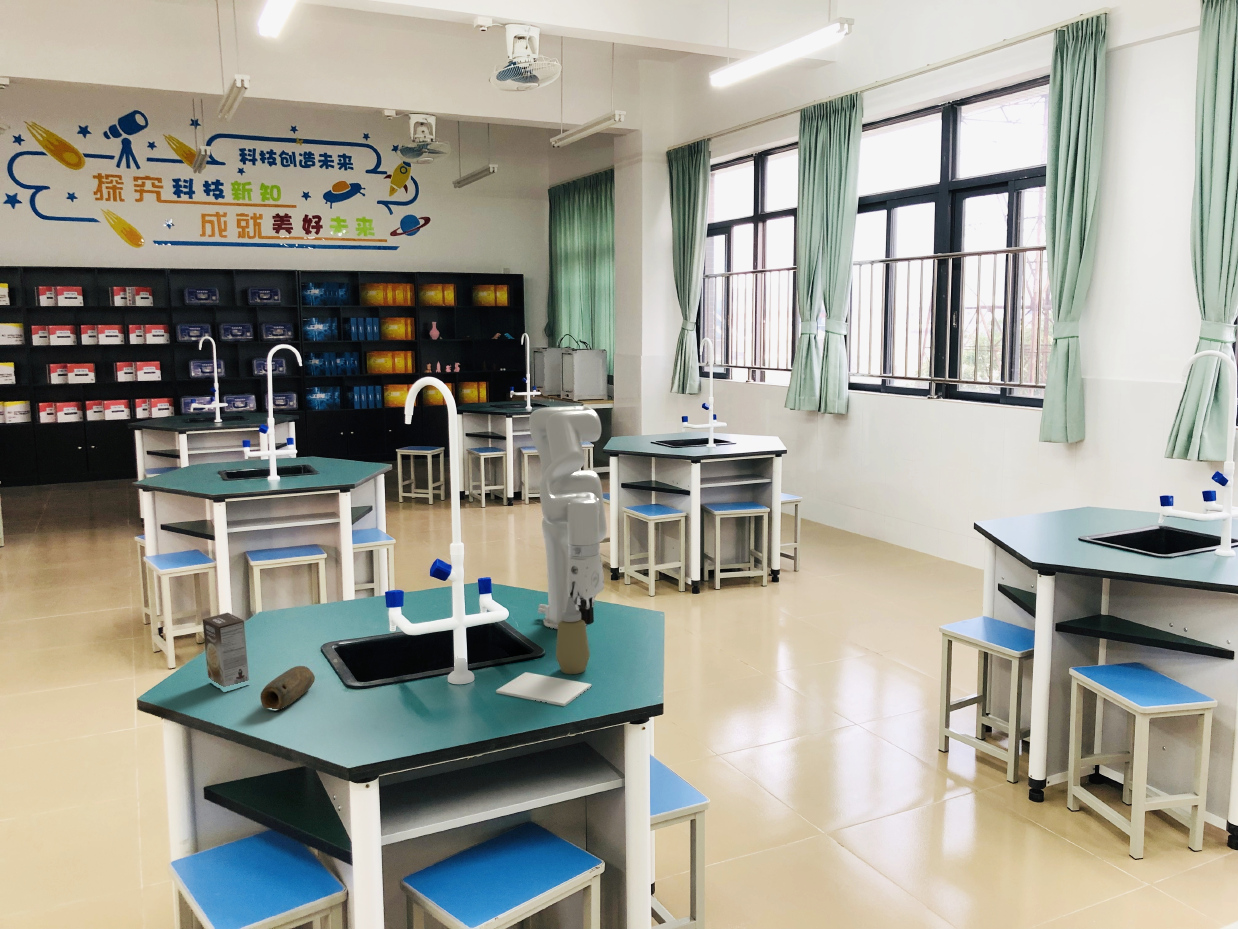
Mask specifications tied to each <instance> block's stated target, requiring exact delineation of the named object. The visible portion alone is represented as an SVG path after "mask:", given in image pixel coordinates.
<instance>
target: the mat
mask: <svg viewBox="0 0 1238 929" xmlns="http://www.w3.org/2000/svg"><path fill="white" fill-rule="evenodd" d="M591 686H593V684H591V683H587V682H582V681H581V682H580V681H577V680H570V679H565V678H559V677H553V676H548V675H543V674H538V673H532V672H526V671H525V672H524V673H522V674H520V675H519V676H517V677H515V678H514V679H512V680H511V681H509V682H507V683H505V684H504V685H503V686H501V687H499V688H497V689H496V690H495V693H496V694H500V695H506V696H511V697H516V698H521V699H526V700H531V701H535V700H536V701H535V702H540V701H542V702H541V703H545V702H547V703H546V704H550V705H557V706H562V707H566V706H567V705H568V704H569V703H571V702H573V701H574V700H575V699H576V697H577V698H578V697H579V696H581V695H582V694H584V693H585V692H586V691H588V690H589V689H590V687H591ZM591 688H592V687H591ZM587 689H588V690H587ZM584 691H585V692H584ZM583 692H584V693H583ZM580 694H581V695H580Z"/></svg>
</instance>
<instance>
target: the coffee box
mask: <svg viewBox="0 0 1238 929" xmlns="http://www.w3.org/2000/svg"><path fill="white" fill-rule="evenodd" d="M201 620H202V628H203V629H202V630H203V638H204V639H203V640H204V647H205V648H204V649H205V658H206V659H205V661H206V670H207V678H210V679H211V680H212V681H214V682H216V683H218V684H219V685H221V686H223V687H226V686H230V685H234V684H238V683H241V682H245V681H248V680H249V681H250V676H249V666H248V664H249V663H248V652H247V651H248V650H247V640H246V629H245V627H246V626H245V620H244V619H242V618H239V617H238V616H236V615H234V614H232V613H230V612H225V613H221V614H217V615H212V616H209V617H205V618H203V619H201Z"/></svg>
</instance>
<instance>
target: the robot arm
mask: <svg viewBox="0 0 1238 929" xmlns="http://www.w3.org/2000/svg"><path fill="white" fill-rule="evenodd" d="M528 425H529V433H530V437H531V440H532V442H533V445H534V447H535V449H536V451H537V453H538V457H539V459H540V467H541V480H540V482H539V500H540V506H541V512H542V516H543V518H542V521H541V530H542V533H543V534H542V536H543V540H544V546H545V554H546V570H547V571H546V572H547V577H546V578H547V598H548V599H547V601H548V604H545V603H544V604H543V603H539V605H538V609H537V613H538V614H544V615H545V616H544V618H543V625H544V626H545V627H547V628H549V627H550V629H553V628H554V629H555V630H558V623H559V622H560V621H561V620H562V612H563V611H566V607H567V602H568V598H569V597H573V599H574V603H575V607H576V610H578V611H580V612H581V619H582V620H583V621H585V625H586V626H587V625H589V626H590V625H592V624H594V622H595V616H594V607H595V600H596V596H598V594H600V593H602V592H603V591H604V589H605V581H604V579H605V578H604V569H603V568H604V567H603V560H602V556H601V550H600V547H601V546H600V545H601V544H600V542H603V541H604V540H605V538H606V536H607V517H606V510H605V504H604V503H605V502H604V495H603V487H602V486H603V485H602V481H601V479H600V476H599V474H598V473H597V472H596V471H594V470H591V469H590V470H588V469H585V470H581V468H583V466H584V464H585V460H586V457H585V453H584V449H583V445H582V443H591V442H592V443H593V442H598V440H600V437H601V434H602V423H601V419H600V416H599V415H598V413H597V412H596V411H595V409H593V408H591V407H590V406H589V405H587V406H586V405H572V406H549V407H548V406H547V407H542V408H539V409H538V408H537V409H536V410H534V411H532V412H531V414H530V415H529V419H528Z"/></svg>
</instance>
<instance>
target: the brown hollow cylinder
mask: <svg viewBox="0 0 1238 929" xmlns="http://www.w3.org/2000/svg"><path fill="white" fill-rule="evenodd" d="M315 680H316V678H315V674H314V672H312V670H311V669H310V668H309V667H307V666H304V665H298V666H297V665H295V666H294V667H292V668H289V669H287V671H286V670H285V671H284V672H283V673H282V674H279V675H278V676H277V677H276V678H274V679H273V680H271V681H270V682H268V683H267V684H266V685H265V686H264V688H263V689H262V690H261V693H260V703H261V705H262V706H263V707H264V708H265V709H266V708H272V709H281V708H283V707H285V706H286V707H288V706H290V705H291V704H292V703H294V702H295V701H297V700H298V699H299V698H300V697H302V696H303V695H304V694H305V693H306V692H307V691H309V689H311V688H312V686H313V684H314V682H315ZM301 695H302V696H301ZM297 698H298V699H297ZM296 699H297V700H296ZM293 701H294V702H293ZM290 703H291V704H290ZM287 705H288V706H287ZM286 707H285V708H286ZM283 709H284V708H283ZM281 710H282V709H281Z"/></svg>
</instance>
